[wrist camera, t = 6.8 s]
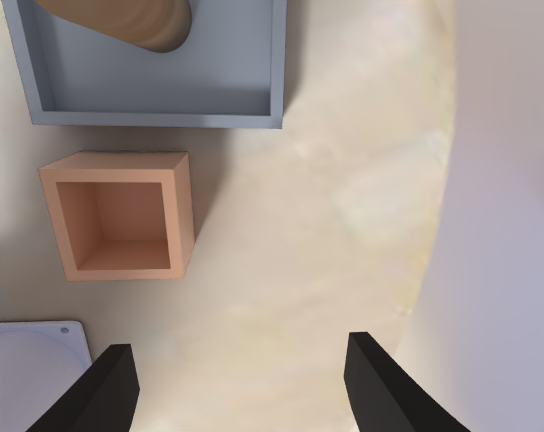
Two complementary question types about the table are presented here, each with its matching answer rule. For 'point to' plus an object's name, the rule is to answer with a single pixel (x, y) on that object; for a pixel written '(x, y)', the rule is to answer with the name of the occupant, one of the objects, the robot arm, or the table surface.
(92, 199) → the hollow square block
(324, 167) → the table surface
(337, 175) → the table surface
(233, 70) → the tray
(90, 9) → the dowel
